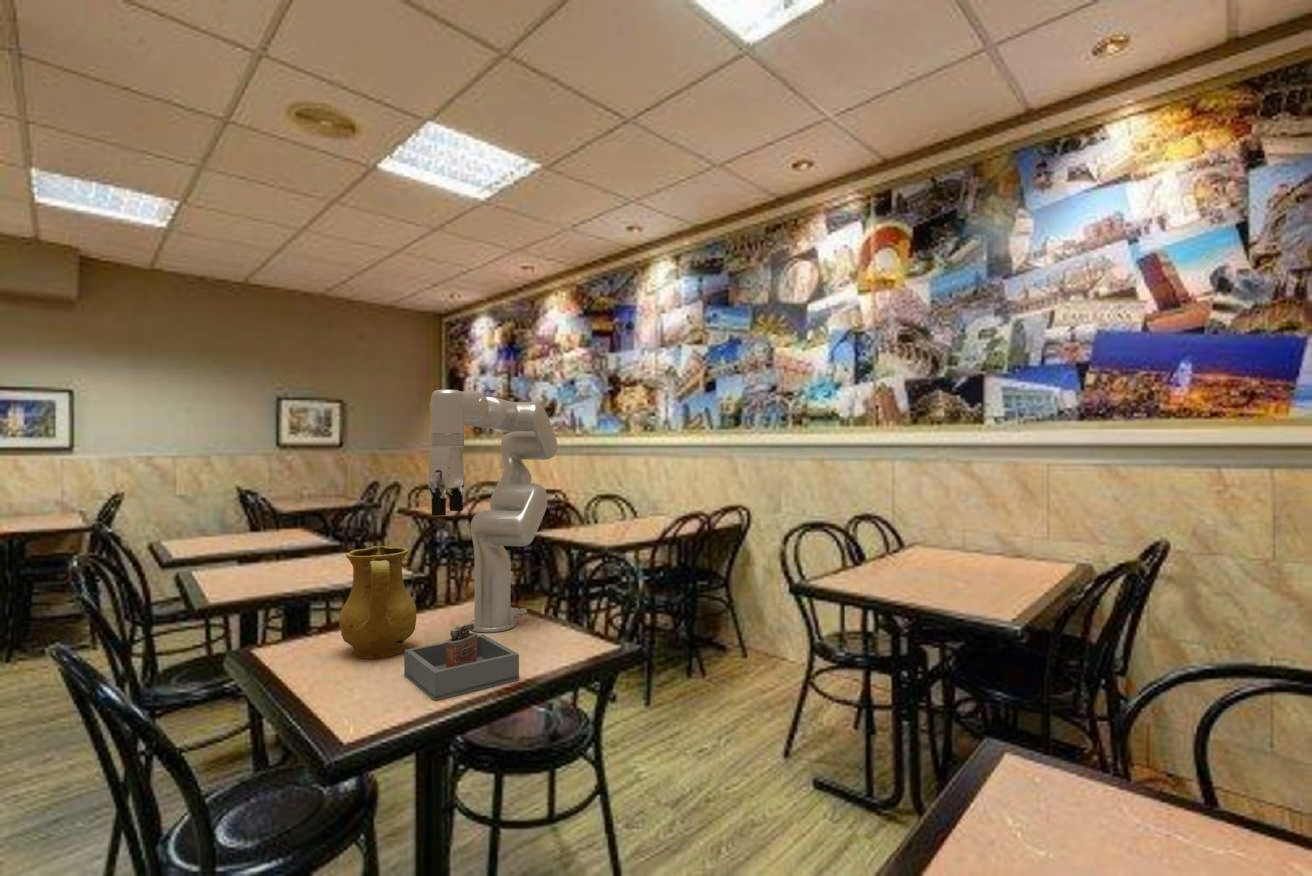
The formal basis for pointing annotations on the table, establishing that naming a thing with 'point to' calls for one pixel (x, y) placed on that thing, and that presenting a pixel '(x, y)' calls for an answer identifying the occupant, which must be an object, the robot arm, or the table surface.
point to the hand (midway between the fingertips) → (447, 513)
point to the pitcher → (377, 604)
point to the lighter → (461, 646)
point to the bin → (460, 669)
